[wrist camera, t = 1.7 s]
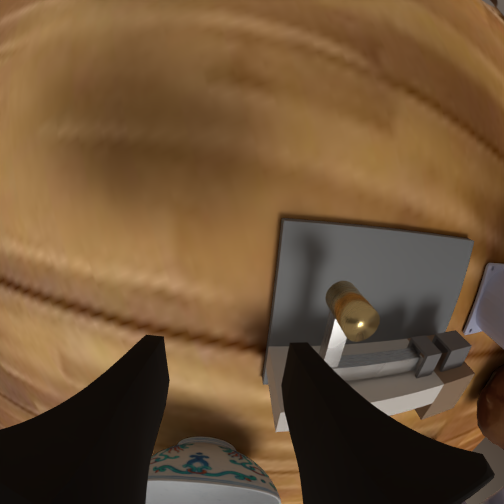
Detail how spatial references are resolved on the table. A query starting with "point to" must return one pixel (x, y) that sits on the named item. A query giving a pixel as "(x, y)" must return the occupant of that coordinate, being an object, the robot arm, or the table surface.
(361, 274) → the door
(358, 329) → the bolt
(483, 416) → the butternut squash
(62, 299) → the table surface
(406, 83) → the table surface
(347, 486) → the robot arm
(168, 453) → the chinaware
